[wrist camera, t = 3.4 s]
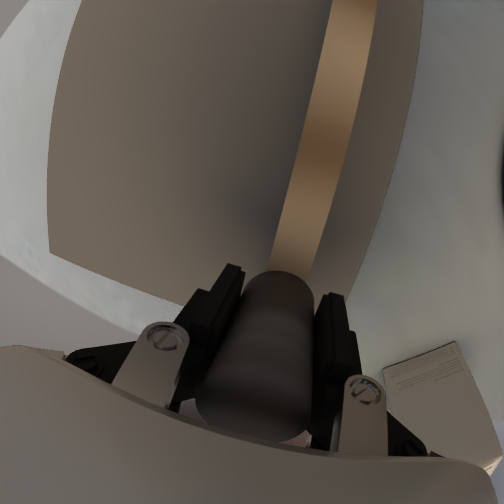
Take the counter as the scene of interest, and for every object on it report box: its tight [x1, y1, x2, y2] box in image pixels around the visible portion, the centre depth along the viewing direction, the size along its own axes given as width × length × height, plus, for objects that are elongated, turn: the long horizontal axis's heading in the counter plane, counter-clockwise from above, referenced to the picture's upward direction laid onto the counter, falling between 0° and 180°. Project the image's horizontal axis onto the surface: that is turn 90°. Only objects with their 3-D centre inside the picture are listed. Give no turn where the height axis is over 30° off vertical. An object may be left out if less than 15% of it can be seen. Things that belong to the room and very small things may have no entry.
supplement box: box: [383, 342, 503, 476], centre depth 16 cm, size 7×7×13 cm
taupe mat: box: [47, 0, 423, 316], centre depth 16 cm, size 30×27×1 cm
